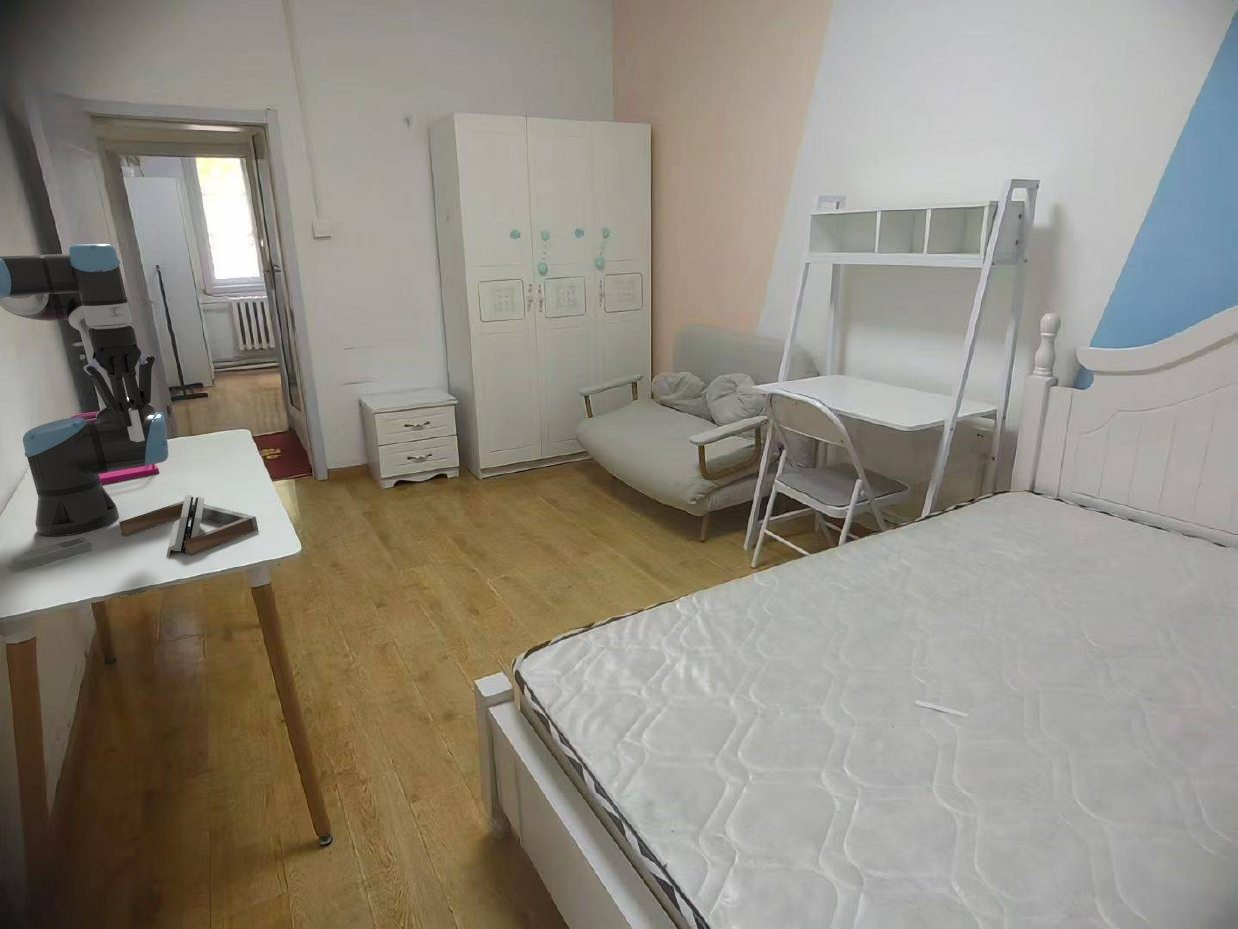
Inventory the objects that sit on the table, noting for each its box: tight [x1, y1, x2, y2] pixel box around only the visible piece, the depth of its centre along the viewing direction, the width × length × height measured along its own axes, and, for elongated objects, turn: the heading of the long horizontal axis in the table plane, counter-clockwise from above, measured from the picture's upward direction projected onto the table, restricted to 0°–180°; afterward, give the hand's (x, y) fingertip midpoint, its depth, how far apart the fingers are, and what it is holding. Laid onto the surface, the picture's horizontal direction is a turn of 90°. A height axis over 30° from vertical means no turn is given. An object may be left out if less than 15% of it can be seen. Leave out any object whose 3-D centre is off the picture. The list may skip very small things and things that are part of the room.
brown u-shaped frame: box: [118, 500, 259, 557], centre depth 159 cm, size 25×15×3 cm, turn 61°
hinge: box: [166, 494, 205, 558], centre depth 154 cm, size 17×5×10 cm, turn 26°
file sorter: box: [70, 410, 160, 485], centre depth 203 cm, size 17×25×16 cm
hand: (137, 440), depth 152 cm, fingers closed
